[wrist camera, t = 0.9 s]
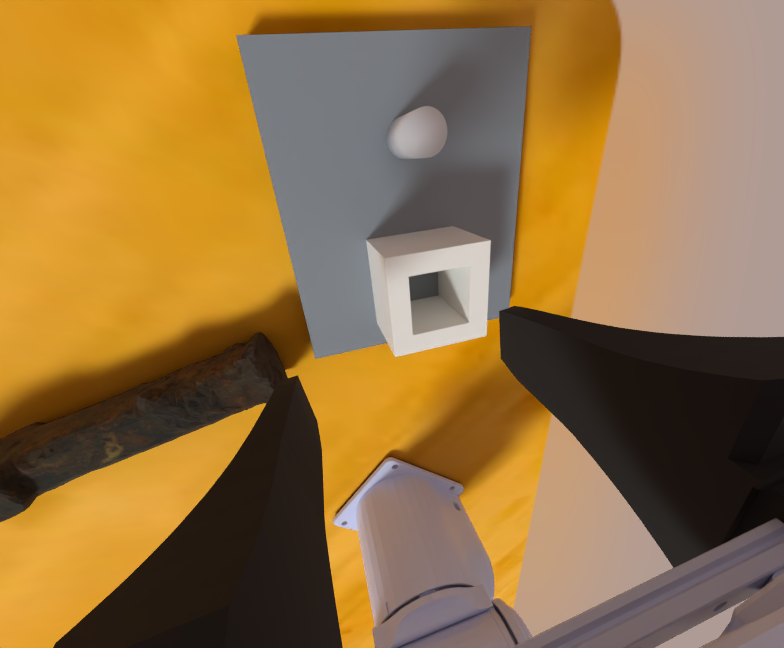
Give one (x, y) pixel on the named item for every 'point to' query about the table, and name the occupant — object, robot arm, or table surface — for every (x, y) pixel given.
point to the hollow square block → (455, 287)
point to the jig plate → (387, 156)
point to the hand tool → (135, 421)
